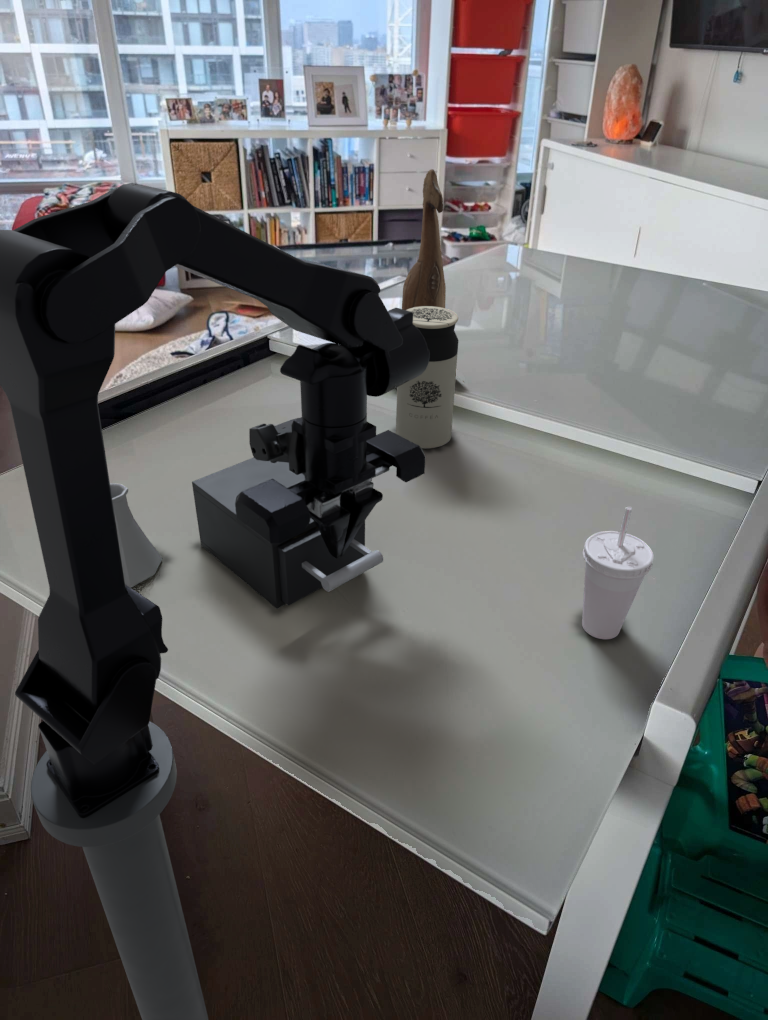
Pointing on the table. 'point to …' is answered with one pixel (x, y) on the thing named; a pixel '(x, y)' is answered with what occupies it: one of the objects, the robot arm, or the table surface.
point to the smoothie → (612, 578)
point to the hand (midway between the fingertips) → (336, 555)
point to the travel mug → (430, 382)
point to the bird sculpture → (427, 254)
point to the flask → (132, 541)
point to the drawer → (321, 564)
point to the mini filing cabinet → (241, 524)
